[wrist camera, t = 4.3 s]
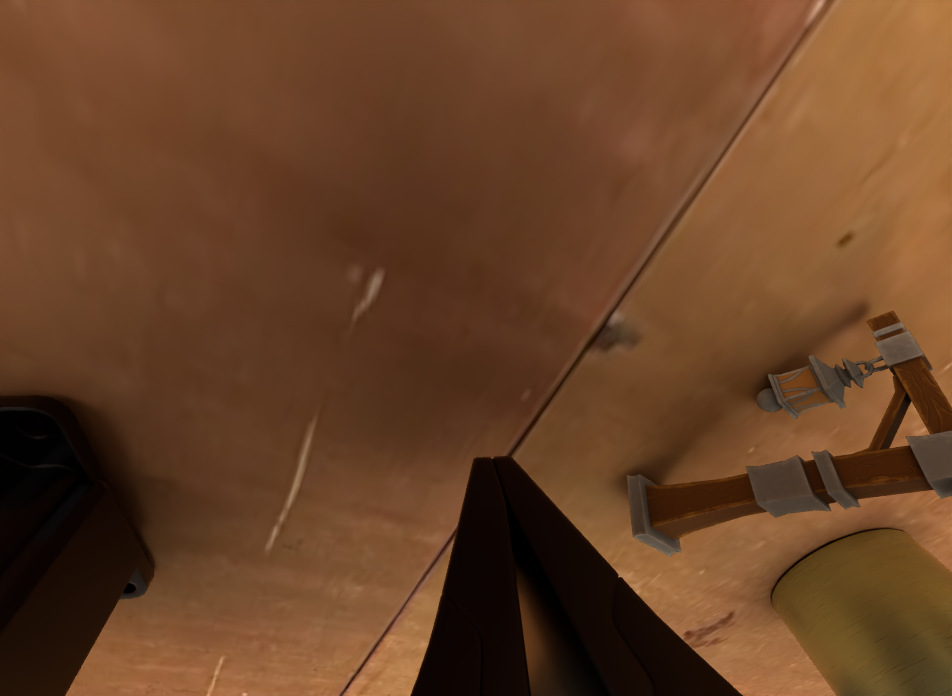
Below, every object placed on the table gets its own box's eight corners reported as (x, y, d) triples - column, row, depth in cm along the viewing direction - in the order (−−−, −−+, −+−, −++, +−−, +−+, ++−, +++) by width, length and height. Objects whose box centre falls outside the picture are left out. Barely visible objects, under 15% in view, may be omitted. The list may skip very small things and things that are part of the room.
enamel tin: (742, 624, 19) (876, 836, 14) (809, 531, 16) (1019, 759, 10) (864, 609, 20) (1034, 801, 15) (950, 519, 17) (1207, 721, 12)
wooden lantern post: (955, 318, 10) (1115, 509, 7) (650, 426, 15) (671, 564, 12) (932, 274, 9) (1100, 469, 6) (619, 403, 14) (633, 545, 12)
